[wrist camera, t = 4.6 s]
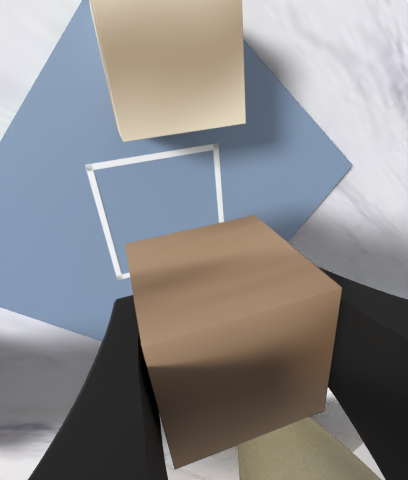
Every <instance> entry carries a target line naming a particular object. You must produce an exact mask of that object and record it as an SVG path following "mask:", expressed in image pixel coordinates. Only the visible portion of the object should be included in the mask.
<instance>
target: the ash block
mask: <svg viewBox="0 0 408 480" xmlns="http://www.w3.org/2000/svg"><path fill="white" fill-rule="evenodd" d="M89 2H90V9H91V14H92V18H93V23H94V27H95V32H96V36H97V41H98V45H99V50H100V54H101V59H102V64H103V68H104V73H105V77H106V82H107V86H108V91H109V95H110V100H111V104H112V109H113V114H114V118H115V123H116V127H117V129H118V131H119V134H120V136H121V138H122V140H123V142H126V141H132V140H139V139H146V138H152V137H159V136H165V135H172V134H179V133H185V132H192V131H198V130H205V129H212V128H218V127H225V126H231V125H238V124H245V123H246V117H245V84H244V51H243V19H242V0H89Z"/></svg>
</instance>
